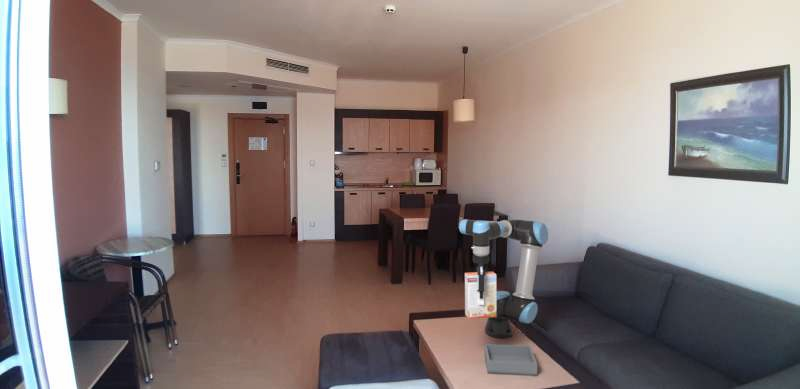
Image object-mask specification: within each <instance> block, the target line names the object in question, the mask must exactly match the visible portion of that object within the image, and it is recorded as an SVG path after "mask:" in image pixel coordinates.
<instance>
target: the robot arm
mask: <svg viewBox="0 0 800 389" xmlns="http://www.w3.org/2000/svg"><path fill="white" fill-rule="evenodd" d="M458 229H459V232H460V233H461V234H463V235H466V236H467V235H468V236H472V246H471V249H472V262H473V263H474V264H477V265H476V272H477V275H479V276H478V277H479V289H478V290H477V291H478V305H484V276H485V272H486V264H489V263H490V240H494V239H498V238H500V237H501V238H506V239H511V240H514V241H519V245H520V247H522V248H521V253H520V254H521V255H520V262H519V268H518V274H517V280H516V281H517V282H516V287H515V292H513V293H512V295H511V293H510V292H509V291H505V290H497V311H496V312H497V314H496V317H489V318H487V319H486V320H487V321H486V323H485V327H484V334H485V335H487V336H489V337H492V338H497V339H505V338H506V339H507V338H510V337H511V336H513V327H512V324H511V320H513V321H517V322H520V323H524V324H531V323H532V322H533V321H534V320H535V318H536V317H537V314H538V310H539V307H538V304H537V303H536V302H535V300H536V298H535V297H534V296H533V290H534V284H535V277H536V271H537V265H538V264H537V262H538V257H539V251H540V250H541V249H542V248H543V245H546V244H547V241H548V239H549V232H548V231H549V230H548V228H547V226H546V224H545V223H543V222H540V221H537V220H535V221H533V220H524V219H503V220H500V221H494V220H475V219H465V218H464V219H461V220H460V222H459V226H458Z"/></svg>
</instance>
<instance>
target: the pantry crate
mask: <svg viewBox="0 0 800 389" xmlns="http://www.w3.org/2000/svg"><path fill="white" fill-rule="evenodd" d="M532 349H533V348H532V347H531V346H530V345H515V344H514V345H513V344H495V343H494V344H491V343H490V344H489V343H484V361H485V365H486V366H485V367H486V372H487V374H488V375H507V376H508V375H509V376H510V375H511V376H523V377H524V376H526V377H538V363H537V359H536V357H535V355H534V353H533V350H532Z"/></svg>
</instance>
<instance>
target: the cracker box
mask: <svg viewBox="0 0 800 389" xmlns="http://www.w3.org/2000/svg"><path fill="white" fill-rule="evenodd" d="M478 276H479V275H477V271H475V272H473V271H472V272H464V315H465V317H466V318H467V319H468V320H472V319H485V318H487V319H488V318H489V317H496V314H497V312H496V311H497V291H498V289H497V284H498V283H497V274H496V273H495V272H494V271H485V276H484V305H478V291H477V290H478V289H479V277H478Z"/></svg>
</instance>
